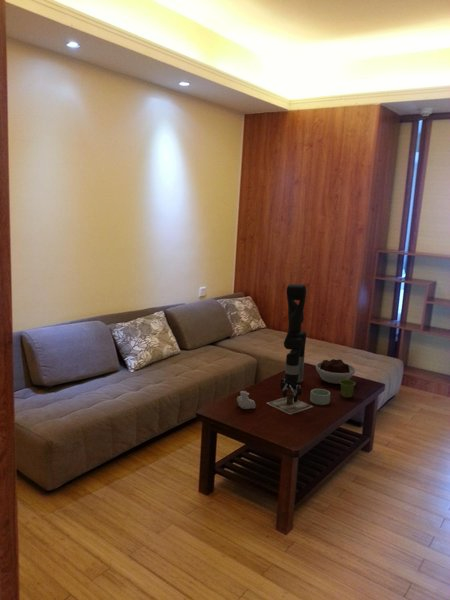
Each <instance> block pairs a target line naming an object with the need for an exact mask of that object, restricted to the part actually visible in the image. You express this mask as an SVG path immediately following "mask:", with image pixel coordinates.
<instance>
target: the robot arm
mask: <svg viewBox="0 0 450 600" xmlns="http://www.w3.org/2000/svg"><path fill="white" fill-rule="evenodd" d="M306 297H307V288H306V285H305V284H298V283H296V284H295V283H292V284H288V285H287V287H286V299H287V315H288V316H287V317H288V328H287V334H286V336H285V338H284V341H283V346H284V348H285V350H289V353H287V354H286V357H285V358H286V359H285V367H284V370H285V371H284V378H281V379H280V387H279V388H280V390H282V398H285V397H287V393H288V391H287V390H290V391H291V393H293V398H294V402H297V401H298V400H299V399H298V398H299V396H302V389H303V388H302V387H303V385H302V384H298V383H302V382H303V380H304V369H305V367H304V366H305V354H306V353H305V352H306V351H305V350H306V349H305V348H306V343H307V342H306V341H307V333H306V331H303V330H302V324H303V322H304V319H305V318H304V309H305V304H306V303H305V302H306ZM297 301H299V302H298V303H297Z"/></svg>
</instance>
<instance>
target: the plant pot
mask: <svg viewBox="0 0 450 600" xmlns="http://www.w3.org/2000/svg"><path fill="white" fill-rule="evenodd" d="M339 385H340V394H341V397H343V398H346V399H347V398H352V397H353V393H354V387H355V385H356V381H353V380H350V379H349V380H341V381H340V384H339Z"/></svg>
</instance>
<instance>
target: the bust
mask: <svg viewBox="0 0 450 600" xmlns="http://www.w3.org/2000/svg"><path fill="white" fill-rule="evenodd" d="M239 395H240V396H237V398H236V403H237V404H238V407H240V408H241V409H242V410H249V409H252V410H253V409H255V408H256V403H255V401H254V400H253V399H250V398H249V395H250V393H249V392H247V391H246V390H240V392H239Z"/></svg>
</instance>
